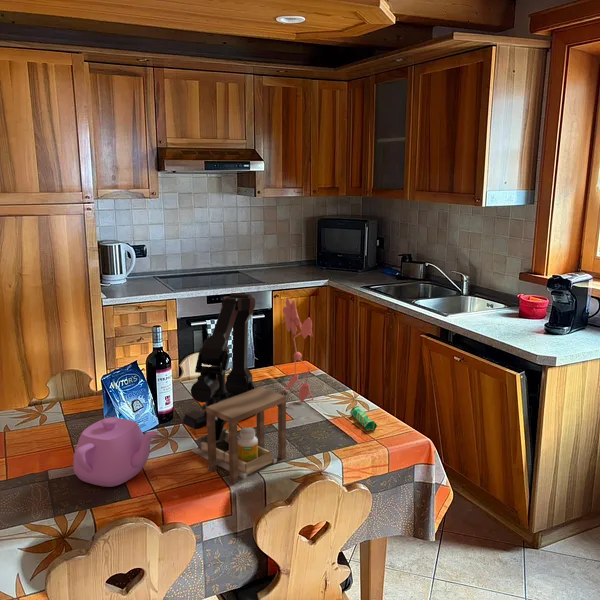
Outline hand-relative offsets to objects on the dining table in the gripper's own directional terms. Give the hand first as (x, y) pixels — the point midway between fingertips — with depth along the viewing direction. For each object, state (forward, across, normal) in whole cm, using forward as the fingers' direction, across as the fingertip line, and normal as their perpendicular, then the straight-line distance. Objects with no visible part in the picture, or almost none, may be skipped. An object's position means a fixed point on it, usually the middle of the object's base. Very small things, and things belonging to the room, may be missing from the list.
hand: (216, 440), depth 170 cm
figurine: (+3, +41, +10) cm, 42 cm away
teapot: (+3, -27, +8) cm, 28 cm away
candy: (+3, +42, -20) cm, 47 cm away
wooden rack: (+2, 0, -8) cm, 8 cm away
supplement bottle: (+3, 0, -13) cm, 13 cm away
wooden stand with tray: (+2, 0, -7) cm, 8 cm away
